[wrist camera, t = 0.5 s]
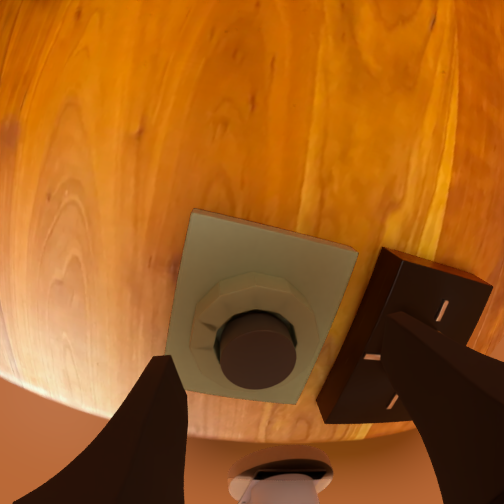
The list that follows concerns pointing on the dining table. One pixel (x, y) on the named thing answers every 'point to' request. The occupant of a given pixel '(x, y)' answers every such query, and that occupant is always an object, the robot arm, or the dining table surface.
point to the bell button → (256, 351)
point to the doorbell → (252, 297)
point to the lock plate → (372, 331)
